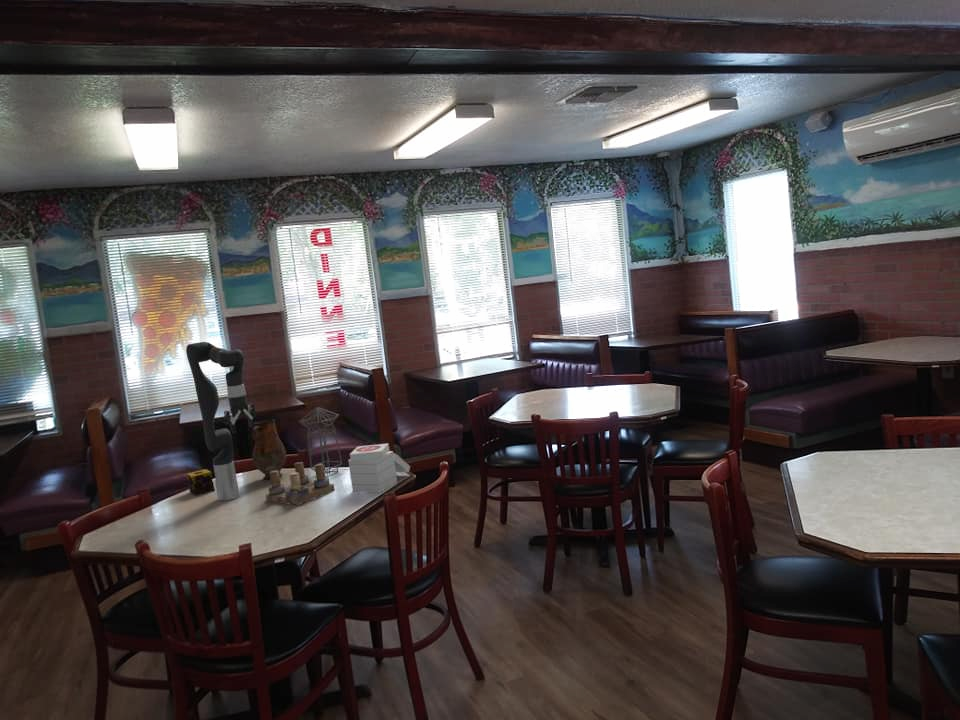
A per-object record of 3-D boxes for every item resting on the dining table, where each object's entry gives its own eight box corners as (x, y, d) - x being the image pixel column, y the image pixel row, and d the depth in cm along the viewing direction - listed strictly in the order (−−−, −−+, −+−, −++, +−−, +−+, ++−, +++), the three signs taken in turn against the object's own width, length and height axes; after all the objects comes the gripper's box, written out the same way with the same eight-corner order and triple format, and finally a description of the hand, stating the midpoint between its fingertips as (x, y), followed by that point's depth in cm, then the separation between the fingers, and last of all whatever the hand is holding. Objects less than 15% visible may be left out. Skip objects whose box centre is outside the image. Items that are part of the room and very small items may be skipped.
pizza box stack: (414, 474, 353) (409, 437, 351) (381, 493, 326) (375, 454, 324) (381, 473, 361) (376, 438, 359) (345, 492, 334) (340, 454, 332)
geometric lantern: (349, 470, 375) (339, 404, 370) (328, 480, 362) (318, 411, 357) (326, 469, 383) (316, 403, 378) (305, 478, 370) (294, 411, 365)
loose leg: (291, 496, 327) (287, 474, 326) (298, 493, 330) (294, 472, 329) (296, 497, 325) (293, 475, 324) (303, 494, 328) (300, 472, 327)
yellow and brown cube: (215, 491, 366) (212, 471, 365) (194, 496, 360) (191, 476, 359) (210, 487, 374) (206, 468, 373) (189, 492, 369) (186, 473, 368)
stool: (266, 501, 336) (262, 473, 334) (303, 486, 353) (299, 460, 352) (297, 505, 323) (293, 476, 321) (334, 490, 340) (330, 463, 339)
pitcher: (295, 472, 386) (286, 416, 382) (276, 484, 365) (267, 425, 361) (266, 474, 389) (257, 418, 386) (246, 486, 368) (236, 427, 365)
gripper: (246, 390, 332) (251, 425, 335) (217, 397, 321) (223, 433, 324) (255, 391, 327) (261, 426, 330) (227, 399, 317) (232, 435, 319)
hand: (242, 430), depth 327 cm, fingers open, 8 cm apart
